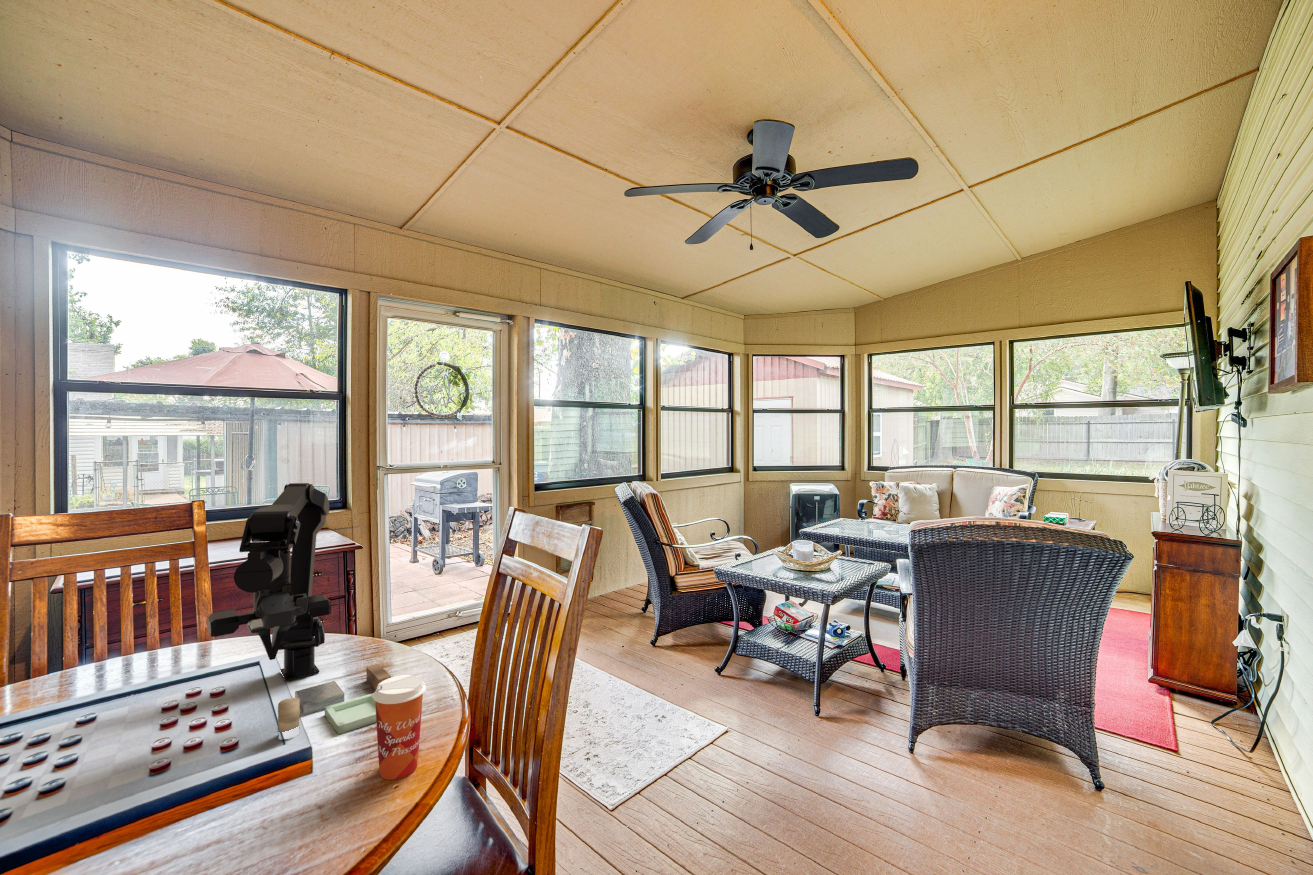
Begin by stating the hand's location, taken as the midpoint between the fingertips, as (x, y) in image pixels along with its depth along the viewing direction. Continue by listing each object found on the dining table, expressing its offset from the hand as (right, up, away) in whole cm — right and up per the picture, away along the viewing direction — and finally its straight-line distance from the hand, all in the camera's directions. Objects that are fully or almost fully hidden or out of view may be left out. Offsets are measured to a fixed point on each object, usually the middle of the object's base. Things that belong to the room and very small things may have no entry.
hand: (271, 658), depth 106 cm
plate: (+6, -11, +6) cm, 14 cm away
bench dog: (+14, -11, +13) cm, 22 cm away
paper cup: (+31, -12, -15) cm, 36 cm away
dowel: (+7, -11, -6) cm, 14 cm away
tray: (+16, -11, +1) cm, 19 cm away
